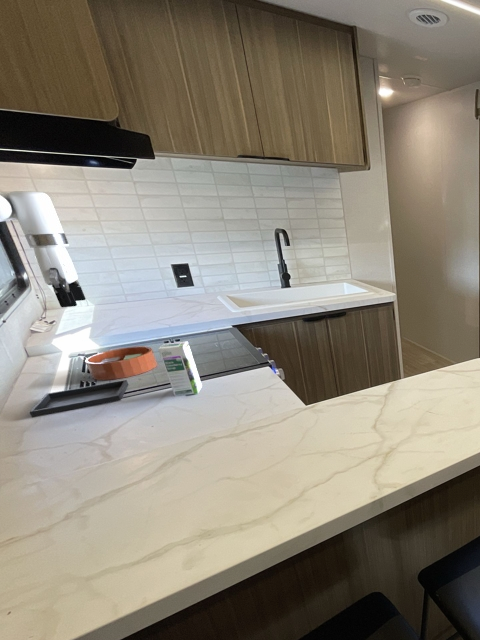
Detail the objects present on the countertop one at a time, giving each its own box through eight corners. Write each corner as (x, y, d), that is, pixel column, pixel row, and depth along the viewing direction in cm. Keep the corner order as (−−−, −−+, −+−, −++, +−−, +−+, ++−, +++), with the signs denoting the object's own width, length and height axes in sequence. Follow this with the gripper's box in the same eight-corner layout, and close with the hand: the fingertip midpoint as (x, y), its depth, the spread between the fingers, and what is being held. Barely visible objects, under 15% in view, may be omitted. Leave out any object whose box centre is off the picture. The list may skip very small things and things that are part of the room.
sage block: (128, 371, 130) (123, 359, 129) (130, 367, 133) (125, 355, 132) (144, 368, 132) (140, 356, 131) (146, 365, 135) (142, 353, 134)
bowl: (87, 385, 121) (78, 367, 119) (99, 369, 134) (91, 352, 131) (155, 374, 129) (148, 356, 127) (160, 359, 142) (154, 343, 140)
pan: (32, 419, 102) (29, 412, 101) (49, 400, 112) (46, 393, 112) (121, 402, 111) (118, 395, 110) (129, 385, 121) (126, 379, 120)
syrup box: (174, 397, 113) (157, 348, 108) (179, 389, 118) (163, 342, 113) (198, 393, 115) (182, 345, 110) (202, 386, 120) (188, 340, 115)
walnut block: (105, 375, 127) (100, 363, 126) (107, 371, 131) (102, 359, 129) (122, 372, 129) (117, 360, 128) (124, 368, 133) (120, 356, 131)
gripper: (39, 240, 114) (64, 299, 120) (15, 243, 100) (46, 311, 107) (75, 238, 118) (98, 296, 124) (57, 242, 104) (84, 307, 111)
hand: (74, 303), depth 116 cm, fingers open, 9 cm apart
